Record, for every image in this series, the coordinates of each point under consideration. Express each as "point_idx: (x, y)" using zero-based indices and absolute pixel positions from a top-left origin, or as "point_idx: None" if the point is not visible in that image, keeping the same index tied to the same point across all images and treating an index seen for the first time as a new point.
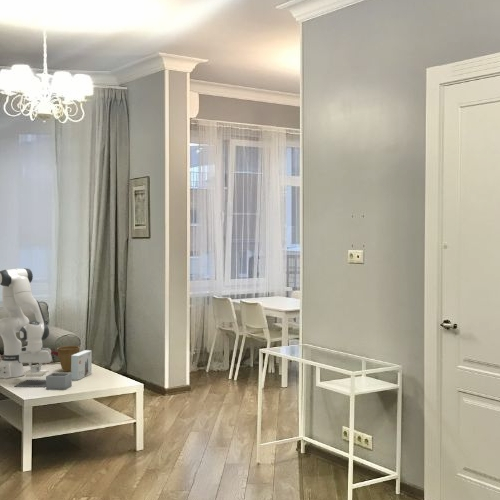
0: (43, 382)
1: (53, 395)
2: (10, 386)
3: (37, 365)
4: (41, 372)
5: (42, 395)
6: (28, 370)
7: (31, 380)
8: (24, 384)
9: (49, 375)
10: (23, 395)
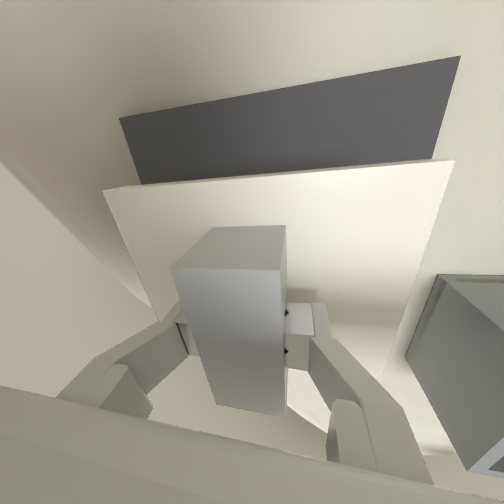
0: None
1: None
2: None
3: (218, 282)
4: (362, 346)
5: (413, 432)
6: (122, 236)
7: (177, 144)
8: None
9: (502, 447)
10: (323, 421)
